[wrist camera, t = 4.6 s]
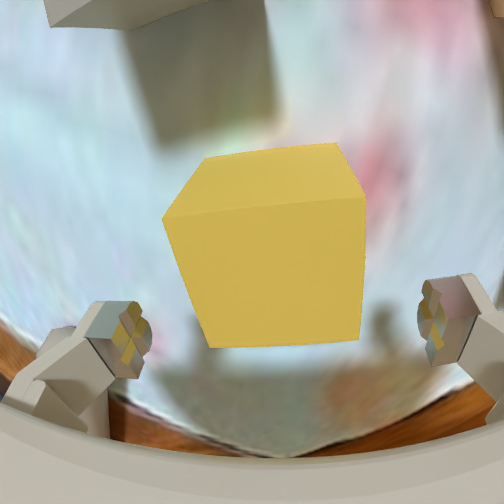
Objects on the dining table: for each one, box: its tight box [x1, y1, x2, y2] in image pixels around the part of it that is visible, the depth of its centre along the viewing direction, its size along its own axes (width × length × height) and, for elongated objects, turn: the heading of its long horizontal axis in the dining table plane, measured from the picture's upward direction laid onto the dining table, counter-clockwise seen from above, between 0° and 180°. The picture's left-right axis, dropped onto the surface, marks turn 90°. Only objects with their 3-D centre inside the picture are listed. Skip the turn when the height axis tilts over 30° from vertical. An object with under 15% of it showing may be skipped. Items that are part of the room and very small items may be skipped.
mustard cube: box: [162, 143, 366, 348], centre depth 11 cm, size 5×5×5 cm
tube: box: [36, 326, 110, 439], centre depth 24 cm, size 5×5×25 cm
